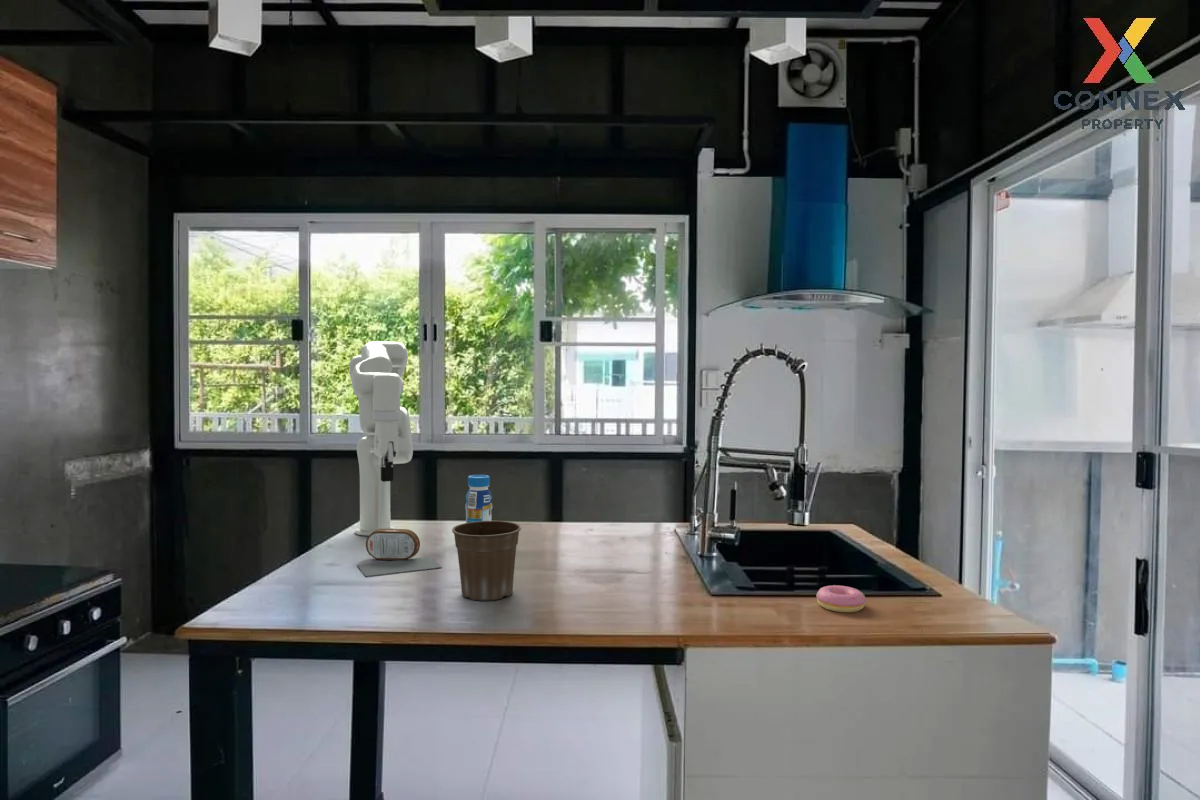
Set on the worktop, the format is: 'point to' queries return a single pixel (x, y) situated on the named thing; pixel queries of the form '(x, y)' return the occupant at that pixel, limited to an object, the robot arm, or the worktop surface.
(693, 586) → the worktop surface
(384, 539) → the tin
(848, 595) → the doughnut
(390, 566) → the mat
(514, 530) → the plant pot
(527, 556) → the worktop surface
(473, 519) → the beverage bottle
